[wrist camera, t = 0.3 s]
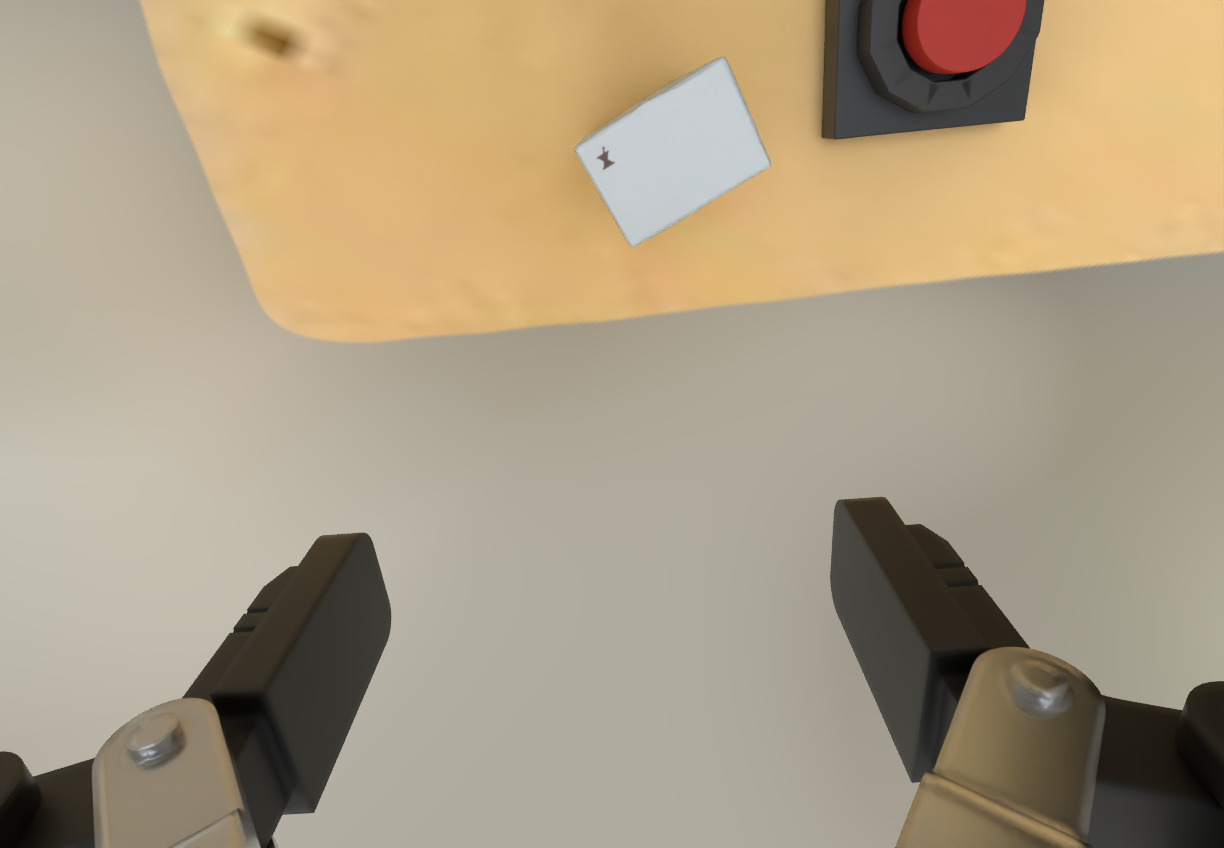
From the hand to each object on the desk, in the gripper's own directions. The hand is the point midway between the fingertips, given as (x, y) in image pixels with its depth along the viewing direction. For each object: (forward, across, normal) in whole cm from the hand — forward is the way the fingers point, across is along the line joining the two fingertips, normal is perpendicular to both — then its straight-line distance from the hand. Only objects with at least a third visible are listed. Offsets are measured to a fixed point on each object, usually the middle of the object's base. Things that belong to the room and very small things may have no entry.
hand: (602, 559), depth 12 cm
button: (+24, -16, -9) cm, 31 cm away
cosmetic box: (+28, -3, -5) cm, 29 cm away
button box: (+28, -16, -9) cm, 34 cm away
